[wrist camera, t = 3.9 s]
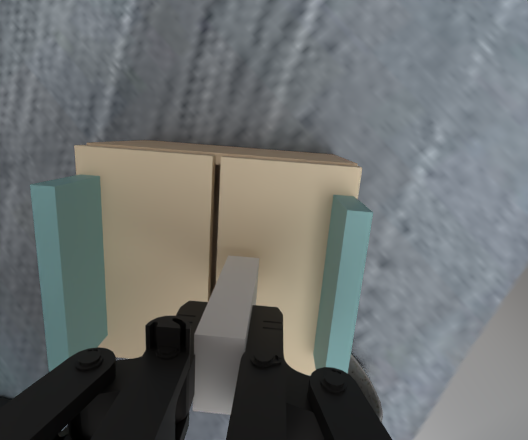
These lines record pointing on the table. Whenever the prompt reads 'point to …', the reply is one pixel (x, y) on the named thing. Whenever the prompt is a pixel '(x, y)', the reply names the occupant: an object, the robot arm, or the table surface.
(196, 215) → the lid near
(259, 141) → the table surface
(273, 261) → the lid
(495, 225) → the table surface
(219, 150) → the carton
